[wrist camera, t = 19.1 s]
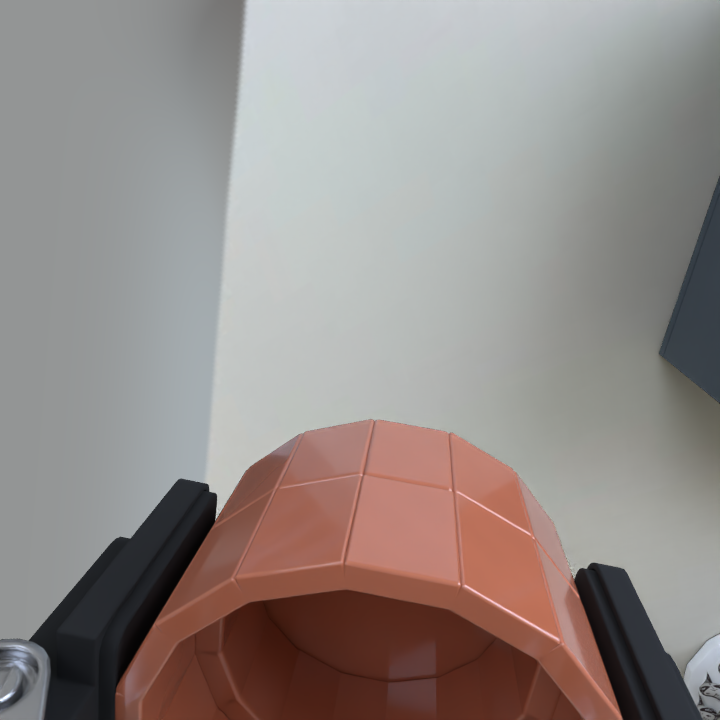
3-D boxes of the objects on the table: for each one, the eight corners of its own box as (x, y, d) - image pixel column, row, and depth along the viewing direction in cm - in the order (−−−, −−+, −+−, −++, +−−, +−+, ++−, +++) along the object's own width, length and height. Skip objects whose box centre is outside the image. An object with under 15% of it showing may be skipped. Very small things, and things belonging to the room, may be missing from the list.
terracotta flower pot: (159, 518, 12) (13, 707, 8) (426, 340, 10) (424, 463, 6) (353, 731, 13) (317, 992, 9) (622, 607, 12) (735, 865, 7)
